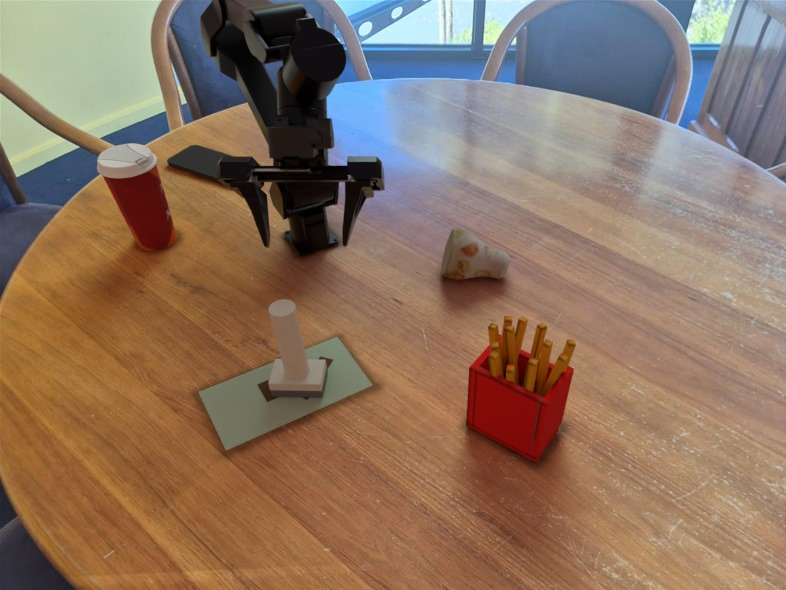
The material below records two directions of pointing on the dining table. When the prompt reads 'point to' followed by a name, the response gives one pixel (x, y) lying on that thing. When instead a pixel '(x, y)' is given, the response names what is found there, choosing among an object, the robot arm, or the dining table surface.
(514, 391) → the french fries container
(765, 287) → the dining table surface
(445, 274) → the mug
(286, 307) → the white peg on base
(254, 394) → the mat
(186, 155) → the phone
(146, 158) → the paper cup
